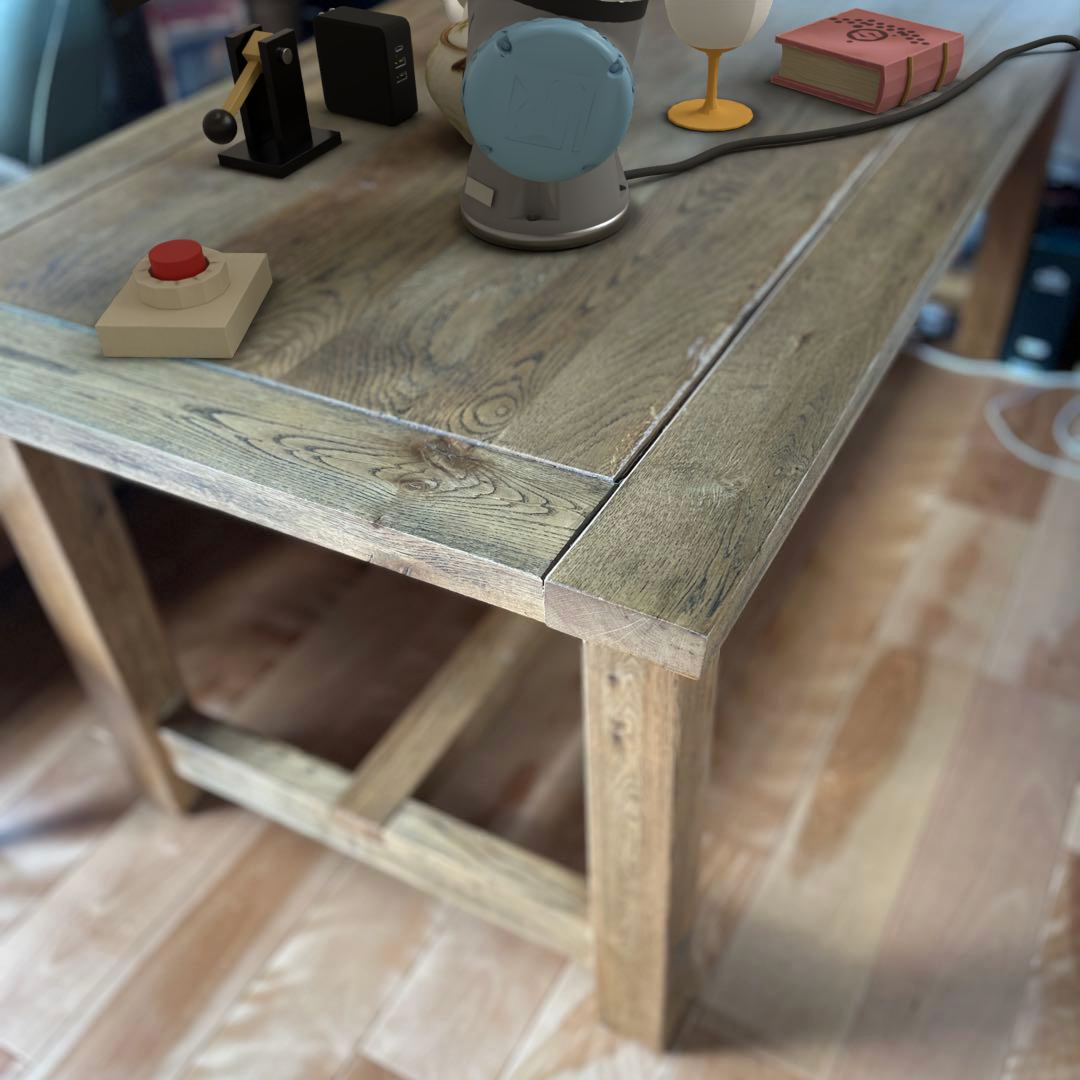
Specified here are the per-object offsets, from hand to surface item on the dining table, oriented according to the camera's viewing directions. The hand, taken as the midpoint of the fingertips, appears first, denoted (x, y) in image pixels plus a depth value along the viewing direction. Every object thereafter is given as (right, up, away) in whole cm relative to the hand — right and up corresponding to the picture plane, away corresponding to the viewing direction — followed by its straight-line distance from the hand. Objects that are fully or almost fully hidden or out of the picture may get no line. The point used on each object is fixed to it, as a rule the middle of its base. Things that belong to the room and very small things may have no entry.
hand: (132, 4), depth 84 cm
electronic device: (+12, +6, +38) cm, 41 cm away
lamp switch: (+4, -1, +30) cm, 30 cm away
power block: (+3, -23, +4) cm, 24 cm away
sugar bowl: (+27, +1, +32) cm, 42 cm away
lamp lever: (+3, +2, +23) cm, 24 cm away
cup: (+49, +4, +34) cm, 60 cm away
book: (+67, +11, +41) cm, 79 cm away
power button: (+3, -20, +2) cm, 20 cm away
